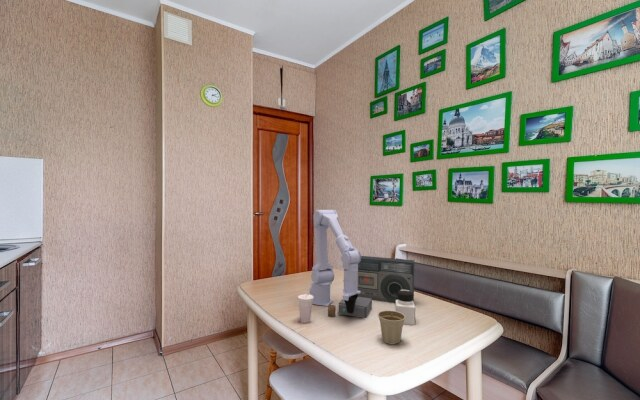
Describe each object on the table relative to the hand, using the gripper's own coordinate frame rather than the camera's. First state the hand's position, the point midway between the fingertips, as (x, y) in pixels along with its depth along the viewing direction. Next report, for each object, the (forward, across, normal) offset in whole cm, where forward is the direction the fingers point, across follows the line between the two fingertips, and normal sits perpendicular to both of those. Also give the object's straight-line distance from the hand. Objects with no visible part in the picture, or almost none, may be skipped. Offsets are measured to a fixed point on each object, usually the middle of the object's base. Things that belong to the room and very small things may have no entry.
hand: (350, 312), depth 119 cm
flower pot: (+3, -12, -18) cm, 22 cm away
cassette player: (+3, +30, -8) cm, 31 cm away
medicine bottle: (+3, +7, -21) cm, 22 cm away
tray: (+2, +7, 0) cm, 7 cm away
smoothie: (+3, -9, +16) cm, 19 cm away
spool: (+2, 0, +8) cm, 8 cm away
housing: (+2, +10, 0) cm, 10 cm away
